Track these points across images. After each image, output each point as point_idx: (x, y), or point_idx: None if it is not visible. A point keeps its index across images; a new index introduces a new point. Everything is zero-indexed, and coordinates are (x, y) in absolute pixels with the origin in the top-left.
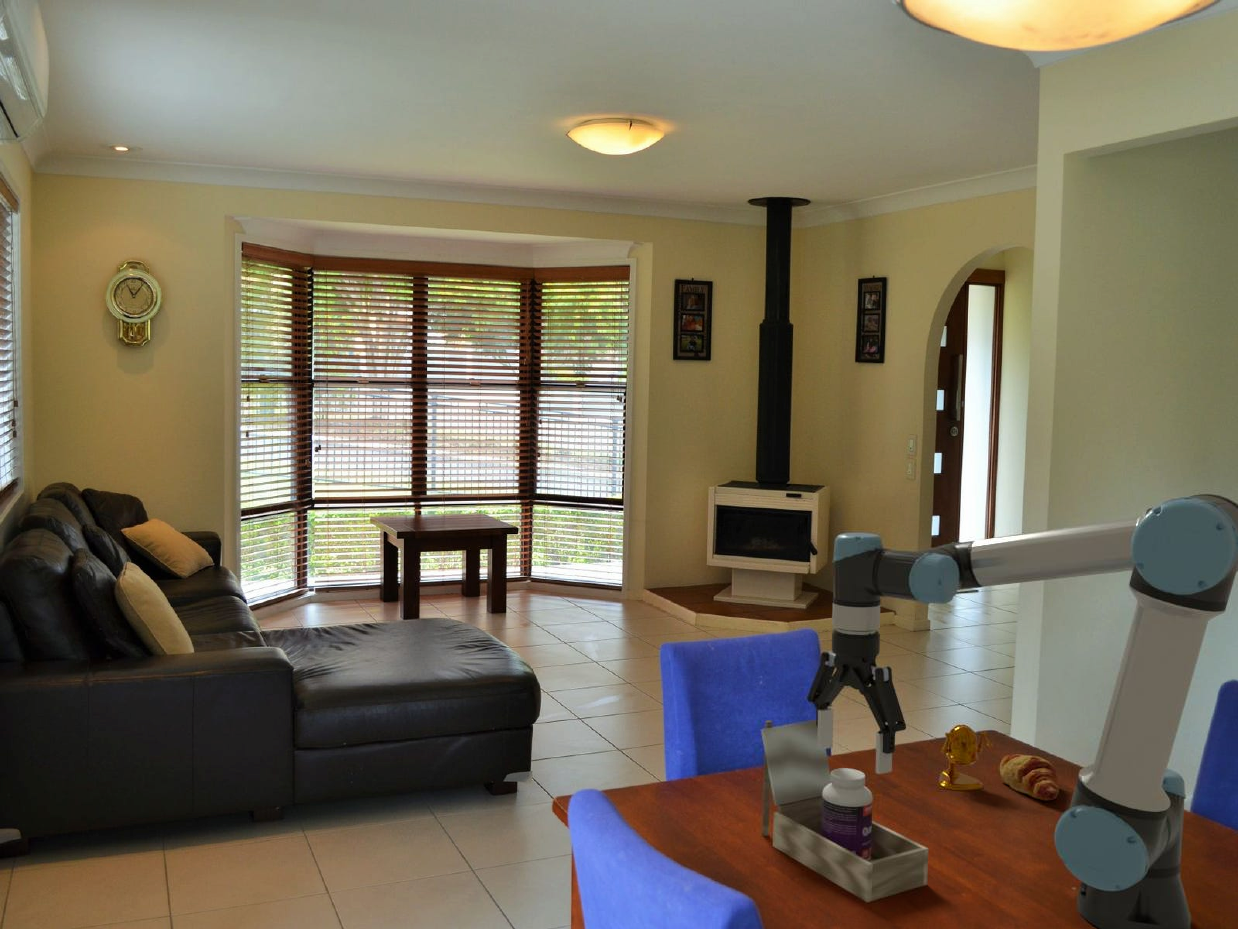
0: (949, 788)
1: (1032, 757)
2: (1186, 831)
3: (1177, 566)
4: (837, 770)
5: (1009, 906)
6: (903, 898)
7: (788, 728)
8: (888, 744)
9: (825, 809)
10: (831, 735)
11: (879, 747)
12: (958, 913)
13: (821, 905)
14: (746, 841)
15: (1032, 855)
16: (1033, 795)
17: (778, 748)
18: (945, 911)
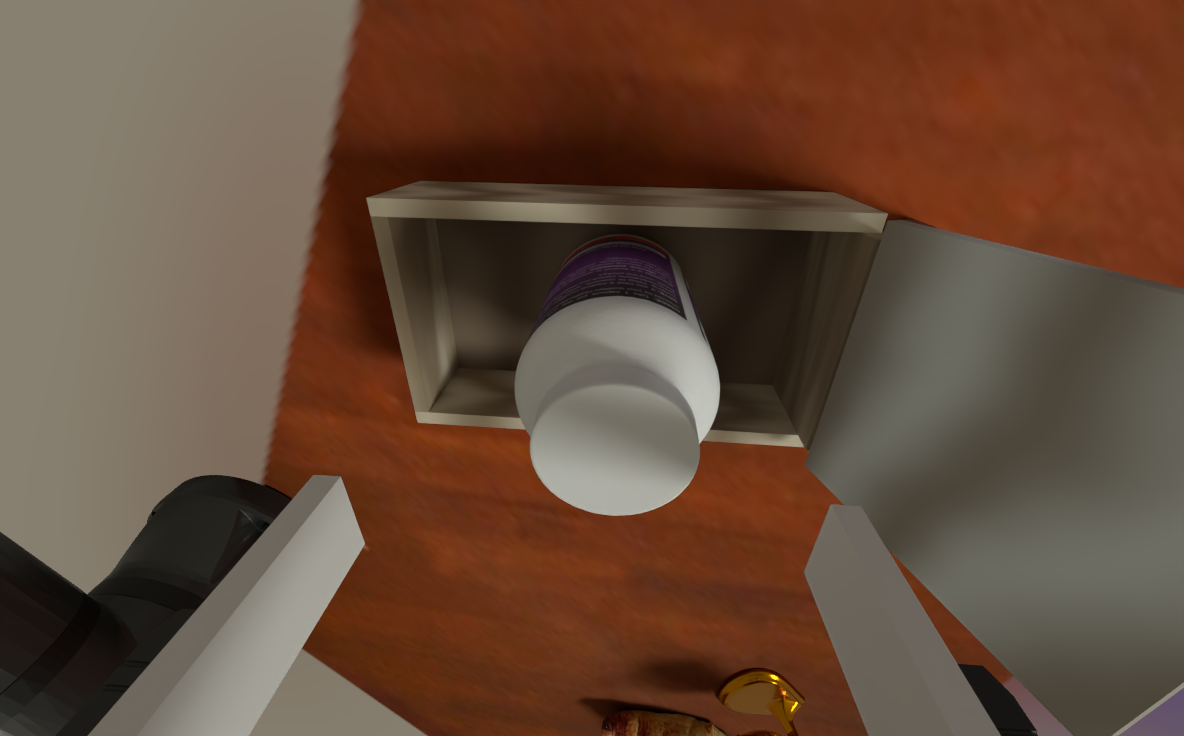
0: (751, 671)
1: None
2: (465, 731)
3: None
4: (677, 451)
5: (327, 428)
6: None
7: None
8: (97, 692)
9: (639, 284)
10: (838, 641)
11: (175, 636)
12: (320, 330)
13: (447, 32)
14: (926, 136)
15: (483, 584)
16: (639, 714)
17: (1154, 399)
18: (334, 314)
